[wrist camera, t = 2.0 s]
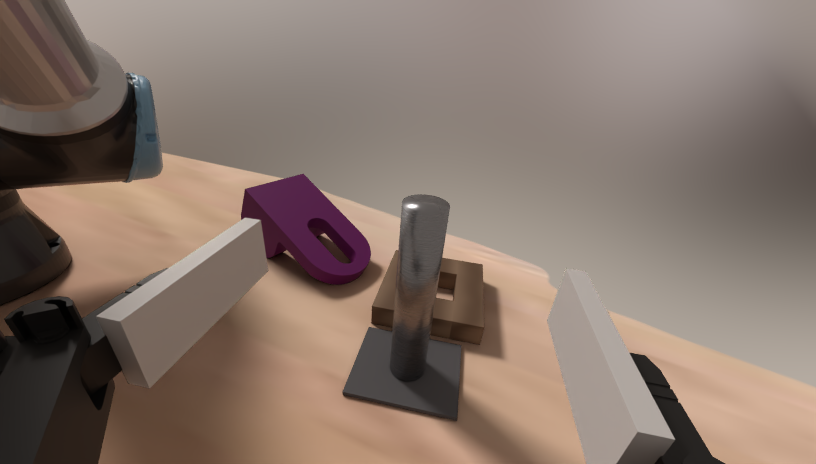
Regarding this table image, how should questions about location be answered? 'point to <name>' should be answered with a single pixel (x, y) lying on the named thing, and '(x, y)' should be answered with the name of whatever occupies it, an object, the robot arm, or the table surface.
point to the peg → (417, 282)
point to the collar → (442, 301)
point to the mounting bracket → (306, 228)
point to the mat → (423, 395)
